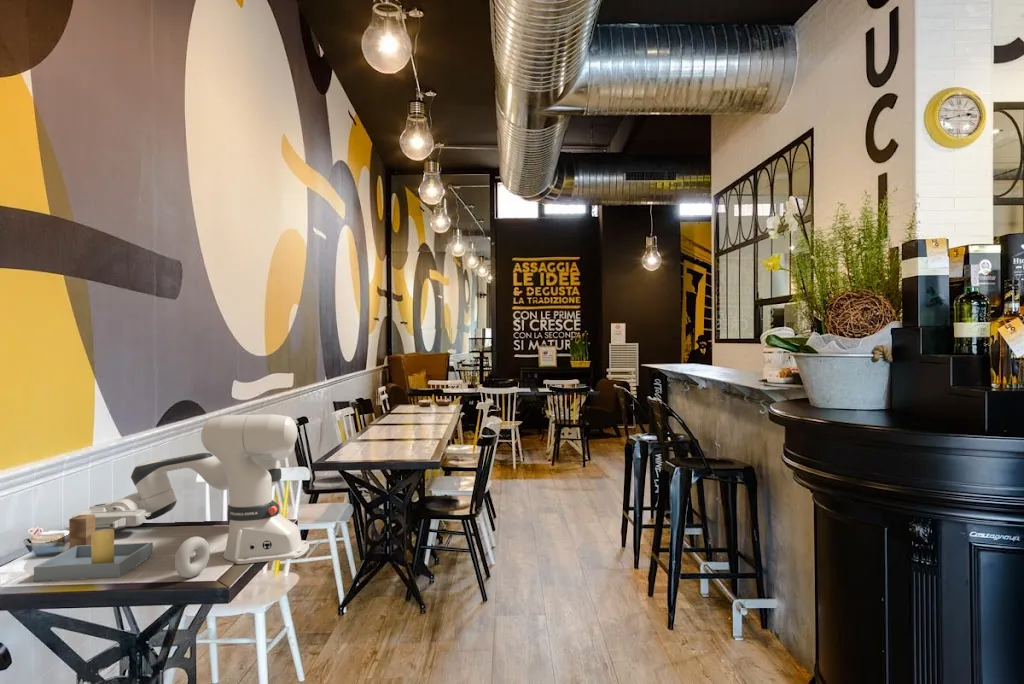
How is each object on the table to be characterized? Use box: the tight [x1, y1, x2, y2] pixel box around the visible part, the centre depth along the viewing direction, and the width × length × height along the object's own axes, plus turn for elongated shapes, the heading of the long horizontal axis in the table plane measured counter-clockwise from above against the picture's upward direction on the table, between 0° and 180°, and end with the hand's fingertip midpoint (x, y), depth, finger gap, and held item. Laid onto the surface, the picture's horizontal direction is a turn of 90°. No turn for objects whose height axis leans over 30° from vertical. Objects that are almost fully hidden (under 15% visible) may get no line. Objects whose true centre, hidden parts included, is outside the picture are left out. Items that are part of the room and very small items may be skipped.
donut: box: [174, 535, 211, 579], centre depth 159 cm, size 10×4×10 cm, turn 162°
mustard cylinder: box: [91, 528, 115, 564], centre depth 163 cm, size 5×5×10 cm
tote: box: [33, 541, 154, 582], centre depth 167 cm, size 20×18×4 cm
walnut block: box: [68, 515, 96, 549], centre depth 181 cm, size 4×4×10 cm
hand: (95, 526), depth 188 cm, fingers open, 8 cm apart
